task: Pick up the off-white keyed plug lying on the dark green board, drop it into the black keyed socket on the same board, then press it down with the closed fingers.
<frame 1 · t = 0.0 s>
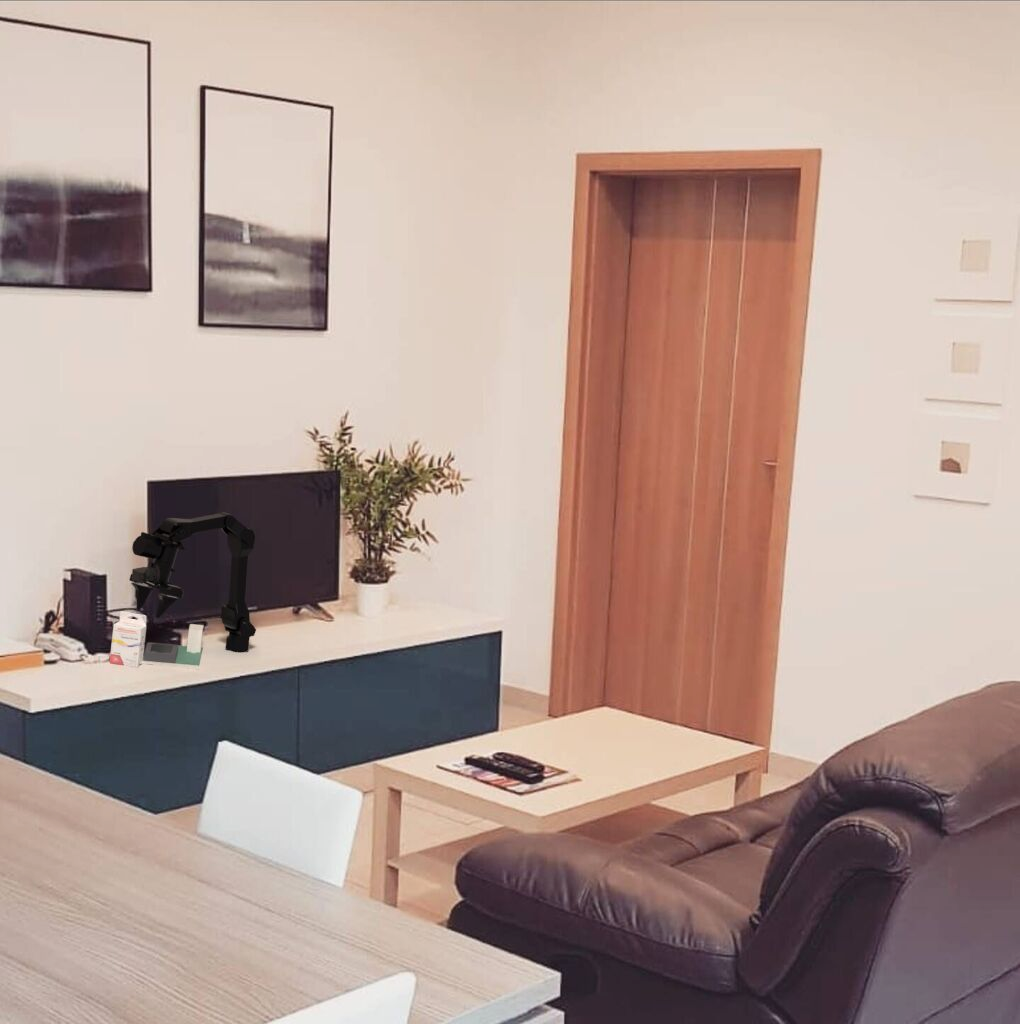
hand: (147, 613, 442), 15 cm above the table, tool pointing down, fingers open, 9 cm apart
ink cartridge box: (126, 664, 444), on the table
plug: (194, 649, 465), point 1 cm above the table, touching board
board: (173, 657, 457), on the table
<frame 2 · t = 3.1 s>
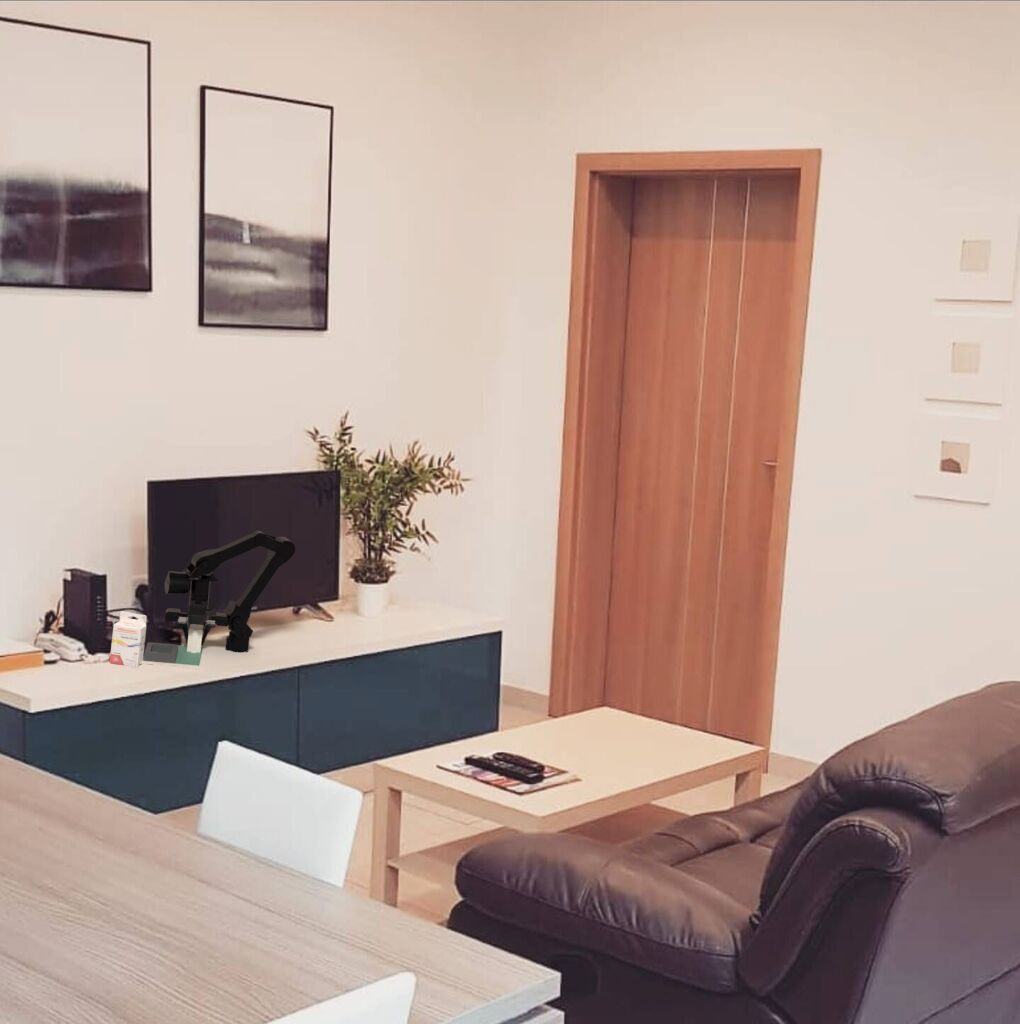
hand: (194, 644, 464), 3 cm above the table, tool pointing down, fingers closed on plug, 4 cm apart
plug: (194, 649, 465), point 1 cm above the table, touching board, gripper
everything else where it was.
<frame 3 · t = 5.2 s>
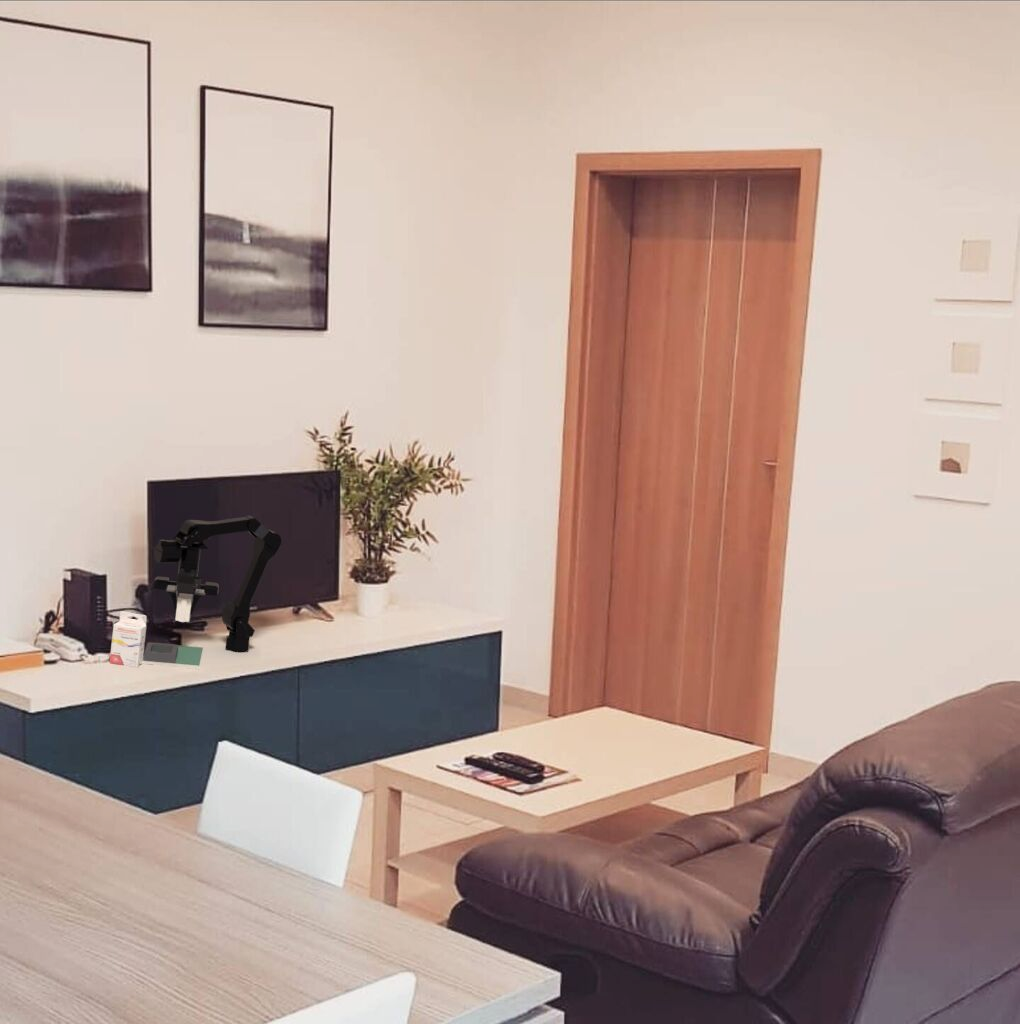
hand: (183, 613, 458), 13 cm above the table, tool pointing down, fingers closed on plug, 4 cm apart
plug: (182, 618, 458), point 11 cm above the table, touching gripper
everything else where it was.
when the fingers open (4 cm above the table, at t = 7.6 s): plug drops 2 cm, resting on board.
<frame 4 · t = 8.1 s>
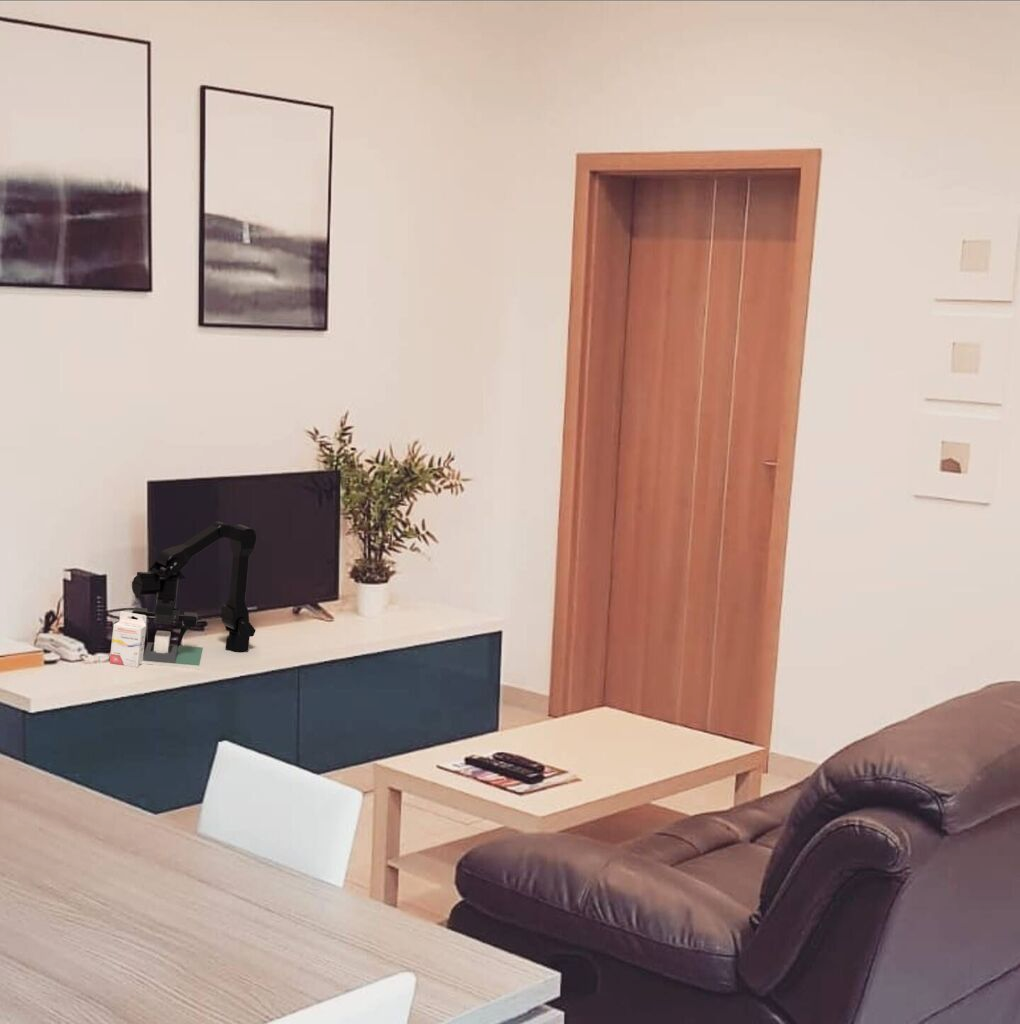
hand: (162, 645, 452), 4 cm above the table, tool pointing down, fingers open, 9 cm apart
plug: (160, 656, 452), point 1 cm above the table, touching board
everything else where it was.
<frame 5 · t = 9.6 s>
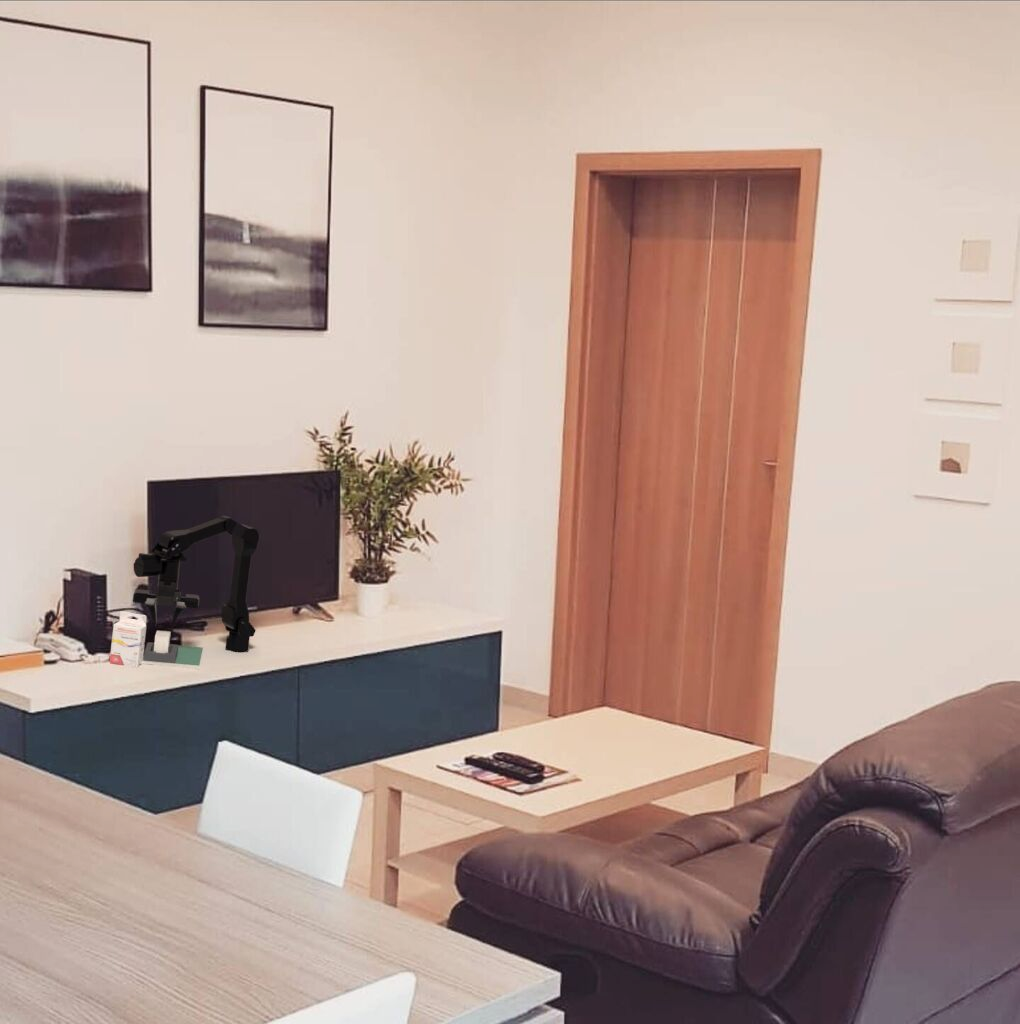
hand: (163, 627, 451), 10 cm above the table, tool pointing down, fingers open, 5 cm apart
nothing on the table moved.
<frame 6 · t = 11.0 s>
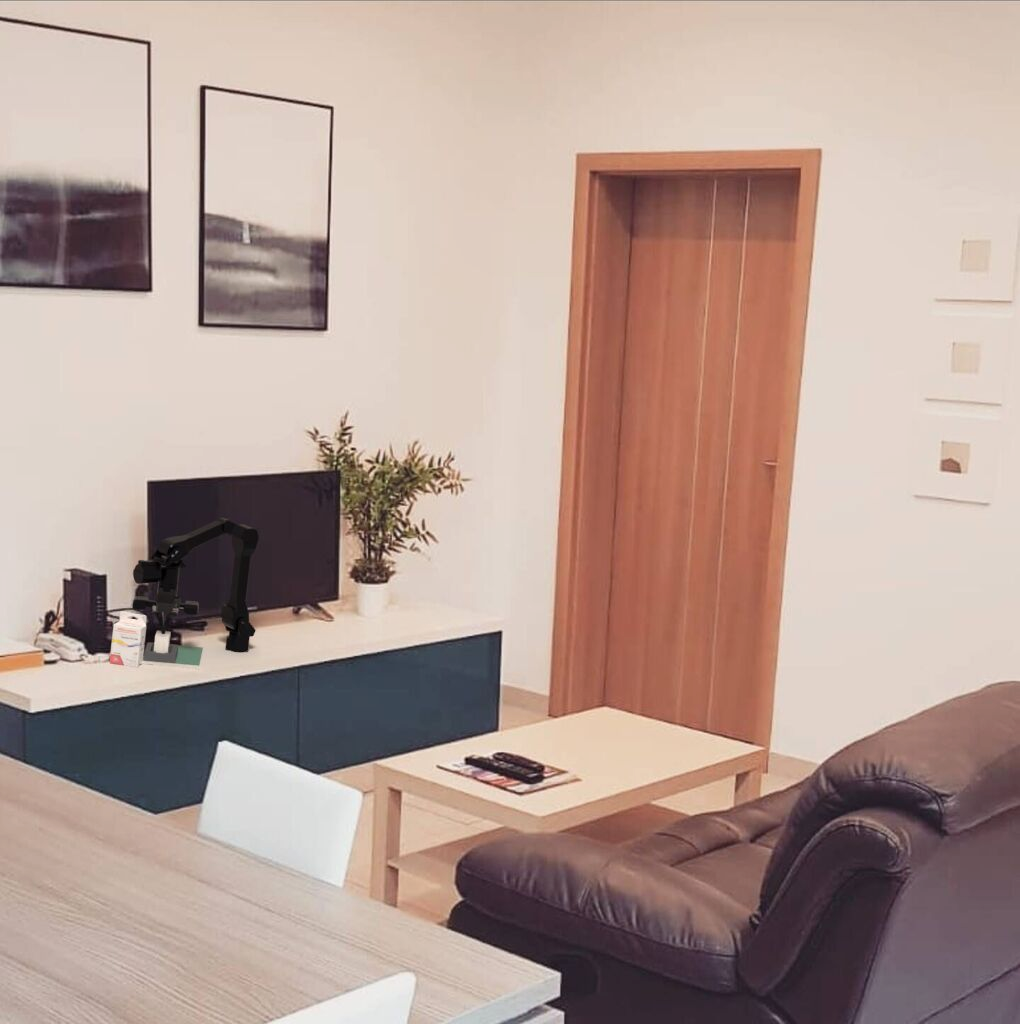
hand: (163, 633, 451), 8 cm above the table, tool pointing down, fingers closed, pressing on plug
plug: (160, 656, 452), point 1 cm above the table, touching board, gripper
everything else where it was.
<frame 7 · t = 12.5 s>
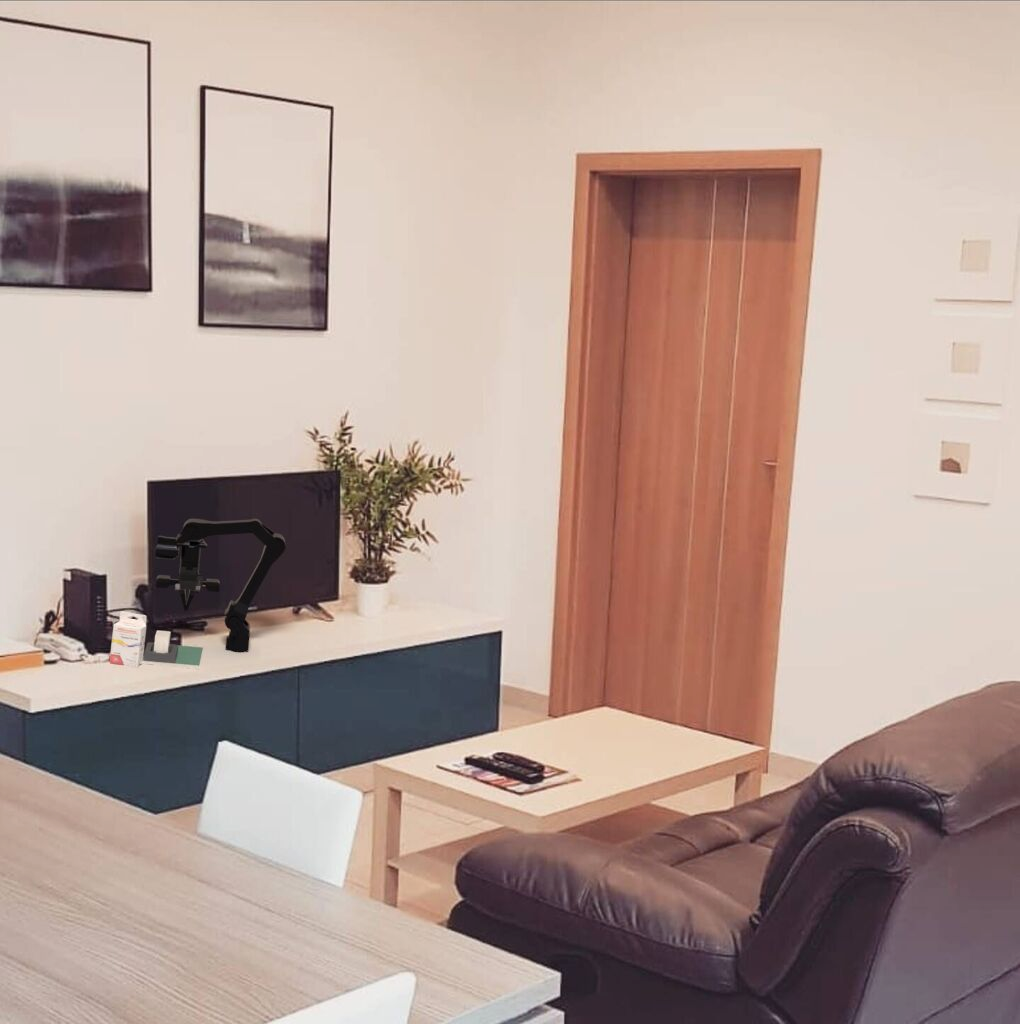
hand: (185, 610, 466), 12 cm above the table, tool pointing down, fingers closed
plug: (160, 656, 452), point 1 cm above the table, touching board
everything else where it was.
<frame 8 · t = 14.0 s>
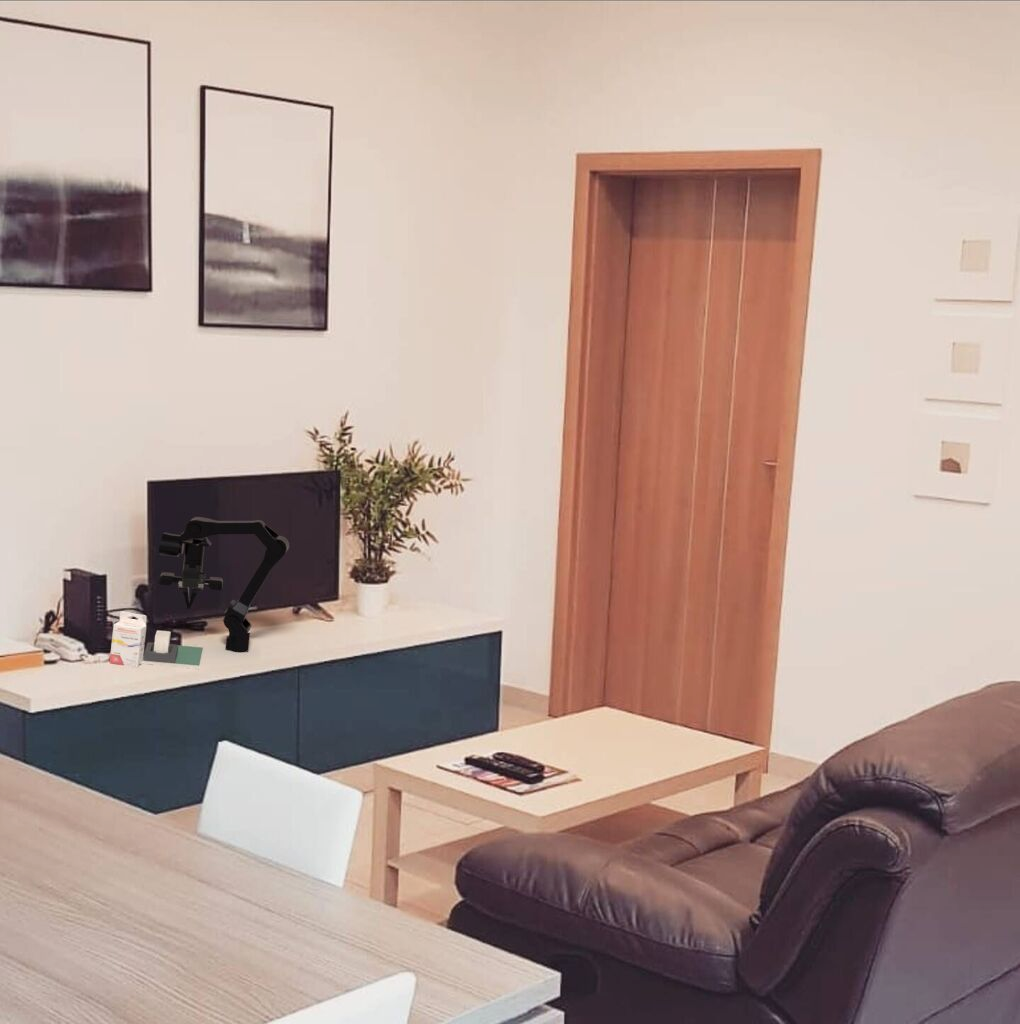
hand: (188, 608, 468), 12 cm above the table, tool pointing down, fingers closed
nothing on the table moved.
at the end: plug 0.1 cm from the target spot on the board, point 1.0 cm above the board's base; plug tilted 0°; the gripper is holding nothing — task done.
